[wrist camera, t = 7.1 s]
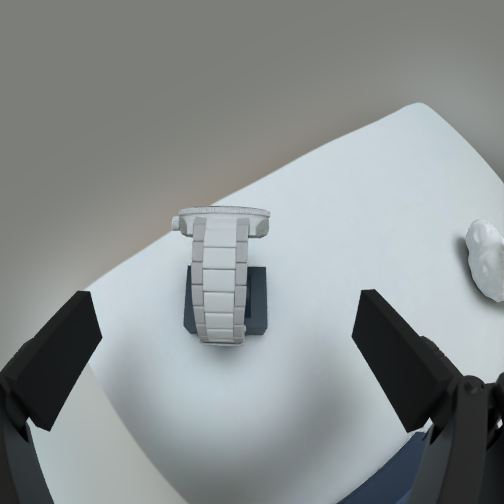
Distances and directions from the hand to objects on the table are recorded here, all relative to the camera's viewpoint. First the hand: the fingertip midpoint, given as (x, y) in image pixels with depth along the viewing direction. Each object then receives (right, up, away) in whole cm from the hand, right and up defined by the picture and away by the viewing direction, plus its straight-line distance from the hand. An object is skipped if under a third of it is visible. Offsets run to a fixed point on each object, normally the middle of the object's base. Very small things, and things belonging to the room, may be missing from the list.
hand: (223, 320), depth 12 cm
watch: (-1, -1, +9) cm, 9 cm away
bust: (+28, 0, +12) cm, 31 cm away
